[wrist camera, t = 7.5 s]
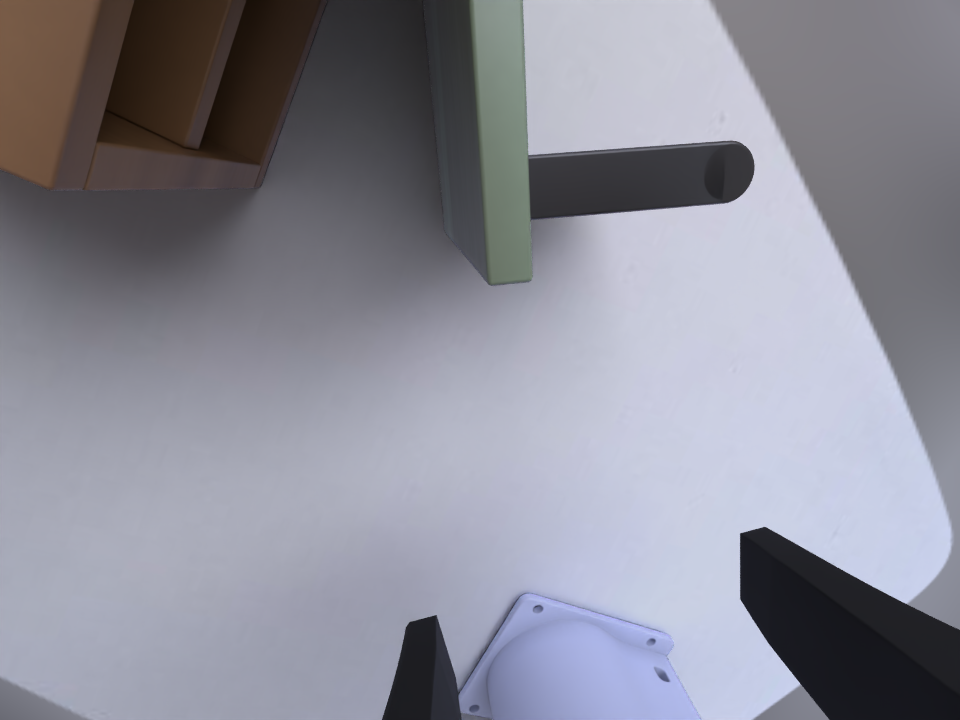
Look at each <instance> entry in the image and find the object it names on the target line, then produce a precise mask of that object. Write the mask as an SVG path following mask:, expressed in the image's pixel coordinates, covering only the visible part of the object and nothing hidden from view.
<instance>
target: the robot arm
mask: <svg viewBox="0 0 960 720" xmlns="http://www.w3.org/2000/svg"><path fill="white" fill-rule="evenodd" d="M740 599H741V601H742V603H743V604H744V606H745V607H746V609H747V611H748V612H749V614H750V615H751V617H752V619H753V620H754V622H755V623H756V625H757V626H758V628H759V629H760V631H761V632H762V634H763V635H764V637H765V639H766V640H767V642H768V643H769V644H770V646H771V647H772V648H773V650H774V651H775V652H776V653H777V655H778V656H779V657H780V658H781V660H782V661H783V662H784V664H785V665H786V666H787V667H788V669H789V670H790V671H791V672H792V674H793V675H794V676H795V677H796V679H797V680H798V681H799V682H800V684H801V685H802V686H803V687H804V689H805V690H806V691H807V692H808V693H809V695H810V696H811V697H812V698H813V699H814V701H815V702H816V703H817V705H818V706H819V707H820V708H821V710H822V711H823V712H824V713H825V715H826V716H827V717H828V718H829V720H960V630H959V629H956V628H954V627H952V626H950V625H948V624H946V623H944V622H942V621H939V620H937V619H935V618H933V617H931V616H929V615H927V614H925V613H923V612H921V611H919V610H917V609H915V608H913V607H911V606H909V605H907V604H905V603H903V602H901V601H899V600H897V599H895V598H893V597H891V596H889V595H887V594H886V593H884V592H882V591H880V590H878V589H876V588H874V587H872V586H870V585H868V584H867V583H865V582H863V581H861V580H859V579H857V578H856V577H854V576H852V575H850V574H848V573H846V572H845V571H843V570H841V569H839V568H837V567H836V566H834V565H832V564H830V563H828V562H827V561H825V560H823V559H821V558H820V557H818V556H816V555H814V554H812V553H811V552H809V551H807V550H805V549H804V548H802V547H800V546H798V545H797V544H795V543H793V542H791V541H790V540H788V539H786V538H784V537H782V536H781V535H779V534H777V533H775V532H773V531H772V530H770V529H768V528H766V527H763V528H759V529H755V530H752V531H748V532H744V533H740ZM537 605H539V606H538V607H535V606H537ZM673 646H674V641H673V640H672V638H671V636H670V635H668V634H665V633H662V632H659V631H655V630H652V629H649V628H645V627H642V626H639V625H635V624H632V623H629V622H625V621H622V620H619V619H615V618H612V617H609V616H605V615H602V614H599V613H595V612H592V611H589V610H585V609H582V608H579V607H575V606H572V605H569V604H565V603H562V602H559V601H555V600H552V599H549V598H545V597H542V596H539V595H535V594H531V593H527V594H524V595H522V596H521V597H520V598H519V599H518V601H517V602H516V604H515V605H514V607H513V609H512V610H511V612H510V613H509V615H508V617H507V618H506V620H505V621H504V623H503V625H502V626H501V628H500V630H499V631H498V633H497V634H496V636H495V638H494V639H493V641H492V642H491V644H490V646H489V647H488V649H487V650H486V652H485V654H484V655H483V657H482V658H481V660H480V662H479V663H478V665H477V667H476V668H475V670H474V671H473V673H472V675H471V676H470V678H469V679H468V681H467V683H466V684H465V686H464V687H463V689H462V691H461V692H460V694H459V695H458V690H457V683H456V677H455V674H454V671H453V667H452V664H451V661H450V658H449V654H448V651H447V648H446V645H445V641H444V638H443V635H442V632H441V628H440V625H439V622H438V619H437V615H435V616H431V617H427V618H424V619H420V620H416V621H413V622H410V623H409V624H408V625H407V627H406V630H405V635H404V640H403V645H402V650H401V654H400V658H399V662H398V666H397V670H396V674H395V678H394V681H393V685H392V689H391V692H390V695H389V699H388V702H387V705H386V709H385V712H384V715H383V718H382V720H461V712H462V713H466V714H470V715H475V716H480V717H484V718H489V719H492V720H702V719H701V718H700V716H699V714H698V712H697V710H696V709H695V707H694V705H693V703H692V701H691V699H690V698H689V696H688V694H687V692H686V690H685V689H684V687H683V685H682V683H681V681H680V680H679V678H678V676H677V674H676V672H675V671H674V669H673V667H672V665H671V663H670V662H669V660H668V658H667V655H668V654H669V652H670V651H671V650H672V648H673Z"/></svg>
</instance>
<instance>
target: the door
mask: <svg viewBox="0 0 960 720" xmlns="http://www.w3.org/2000/svg"><path fill="white" fill-rule="evenodd" d="M423 8H424V18H425V29H426V40H427V50H428V61H429V72H430V82H431V93H432V103H433V114H434V125H435V135H436V146H437V157H438V167H439V178H440V189H441V199H442V210H443V220H444V231H445V233H446V234H447V235H448V237H449V238H450V239H451V240H452V241H453V243H454V244H455V245H456V246H457V247H458V249H459V250H460V251H461V252H462V253H463V255H464V256H465V257H466V258H467V259H468V261H469V262H470V263H471V264H472V265H473V267H474V268H475V269H476V270H477V271H478V273H479V274H480V275H481V276H482V277H483V279H484V280H485V281H486V282H487V283H488V285H491V286H495V285H505V284H515V283H525V282H529V281H531V280H532V277H533V275H532V246H531V220H539V219H550V218H562V217H574V216H585V215H597V214H608V213H620V212H631V211H643V210H655V209H666V208H678V207H689V206H701V205H713V204H724V203H729V202H731V201H734V200H735V199H737V198H738V197H740V196H741V195H742V194H743V193H744V192H745V191H746V190H747V188H748V187H749V185H750V183H751V181H752V178H753V175H754V160H753V156H752V154H751V152H750V151H749V149H748V148H747V147H746V146H744V145H743V144H741V143H740V142H737V141H720V142H706V143H692V144H678V145H664V146H650V147H636V148H622V149H608V150H594V151H580V152H566V153H552V154H538V155H528V134H527V106H526V78H525V49H524V21H523V0H423Z"/></svg>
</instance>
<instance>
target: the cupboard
mask: <svg viewBox="0 0 960 720" xmlns="http://www.w3.org/2000/svg"><path fill="white" fill-rule="evenodd" d="M326 3H327V0H0V170H2V171H5V172H7V173H9V174H12V175H14V176H16V177H19V178H21V179H23V180H26V181H28V182H30V183H33V184H35V185H37V186H40V187H42V188H45V189H47V190H86V191H93V190H170V189H246V188H260V187H261V184H262V181H263V178H264V176H265V173H266V170H267V167H268V164H269V162H270V159H271V156H272V153H273V151H274V148H275V145H276V142H277V139H278V137H279V134H280V131H281V128H282V125H283V123H284V120H285V117H286V114H287V111H288V109H289V106H290V103H291V100H292V98H293V95H294V92H295V89H296V86H297V84H298V81H299V78H300V75H301V72H302V70H303V67H304V64H305V61H306V59H307V56H308V53H309V50H310V47H311V45H312V42H313V39H314V36H315V33H316V31H317V28H318V25H319V22H320V19H321V17H322V14H323V11H324V8H325V6H326Z"/></svg>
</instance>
